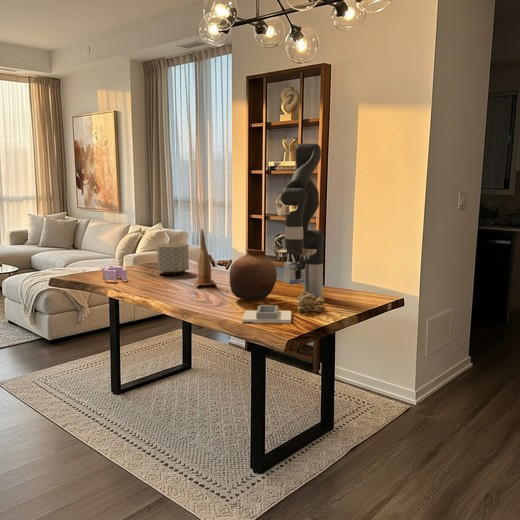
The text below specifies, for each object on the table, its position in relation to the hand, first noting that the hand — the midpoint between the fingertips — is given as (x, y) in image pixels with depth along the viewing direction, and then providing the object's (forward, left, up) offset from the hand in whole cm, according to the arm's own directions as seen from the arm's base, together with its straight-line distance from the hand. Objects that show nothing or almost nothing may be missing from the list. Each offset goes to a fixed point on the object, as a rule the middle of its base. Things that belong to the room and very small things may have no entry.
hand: (294, 278), depth 211 cm
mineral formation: (-15, +7, -18) cm, 24 cm away
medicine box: (0, 0, -2) cm, 2 cm away
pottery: (-33, -20, -18) cm, 42 cm away
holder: (0, -11, -17) cm, 21 cm away
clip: (-80, -106, -18) cm, 134 cm away
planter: (-99, -75, -18) cm, 125 cm away
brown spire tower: (-64, -49, -18) cm, 82 cm away
